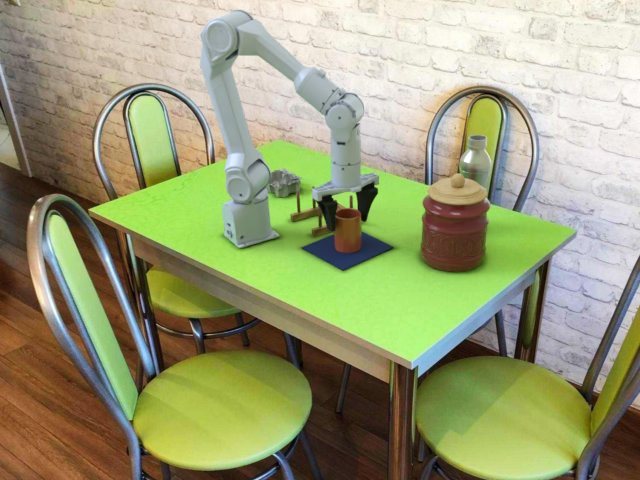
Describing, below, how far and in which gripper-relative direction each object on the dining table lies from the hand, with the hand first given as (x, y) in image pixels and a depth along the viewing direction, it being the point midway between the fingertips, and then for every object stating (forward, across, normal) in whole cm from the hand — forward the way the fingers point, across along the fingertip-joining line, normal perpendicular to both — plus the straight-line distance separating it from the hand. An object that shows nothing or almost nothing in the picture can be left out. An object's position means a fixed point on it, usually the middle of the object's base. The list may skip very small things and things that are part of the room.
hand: (346, 224), depth 141 cm
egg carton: (+6, +4, +35) cm, 36 cm away
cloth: (+5, 0, 0) cm, 5 cm away
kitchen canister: (+5, +15, -16) cm, 22 cm away
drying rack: (+5, +3, +13) cm, 15 cm away
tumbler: (+5, 0, 0) cm, 5 cm away
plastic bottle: (+5, +27, -8) cm, 29 cm away
